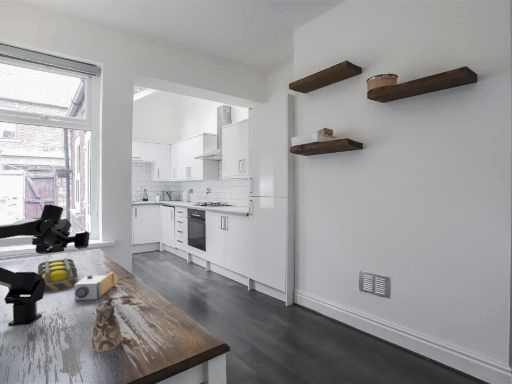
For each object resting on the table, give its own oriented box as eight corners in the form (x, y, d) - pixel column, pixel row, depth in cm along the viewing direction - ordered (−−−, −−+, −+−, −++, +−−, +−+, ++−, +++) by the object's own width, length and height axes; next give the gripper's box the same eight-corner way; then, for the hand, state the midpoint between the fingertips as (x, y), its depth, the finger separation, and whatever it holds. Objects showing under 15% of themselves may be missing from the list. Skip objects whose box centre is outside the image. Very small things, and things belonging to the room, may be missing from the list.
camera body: (94, 300, 112) (94, 282, 112) (72, 301, 111) (71, 283, 111) (107, 289, 124) (107, 273, 124) (87, 290, 123) (86, 274, 123)
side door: (101, 298, 114) (100, 282, 114) (97, 298, 114) (97, 282, 114) (115, 285, 129) (114, 271, 129) (112, 285, 129) (111, 271, 129)
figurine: (85, 350, 78) (84, 305, 78) (103, 336, 85) (102, 295, 85) (109, 352, 77) (108, 306, 76) (126, 338, 84) (125, 296, 83)
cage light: (72, 255, 153) (78, 268, 128) (73, 271, 153) (79, 287, 129) (37, 260, 144) (36, 274, 120) (38, 276, 144) (37, 294, 120)
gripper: (79, 212, 112) (100, 226, 126) (29, 219, 111) (55, 233, 125) (76, 240, 107) (97, 252, 121) (23, 248, 106) (51, 259, 120)
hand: (75, 248), depth 122 cm, fingers open, 9 cm apart
